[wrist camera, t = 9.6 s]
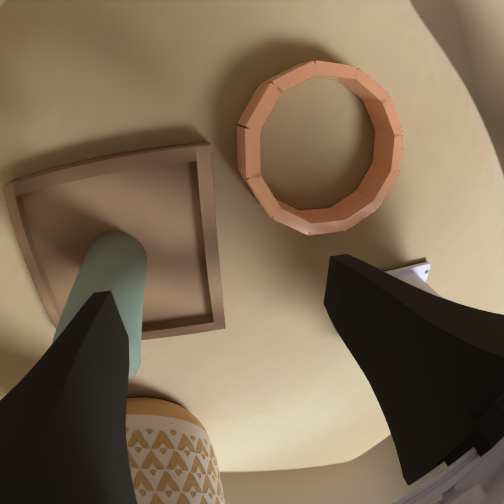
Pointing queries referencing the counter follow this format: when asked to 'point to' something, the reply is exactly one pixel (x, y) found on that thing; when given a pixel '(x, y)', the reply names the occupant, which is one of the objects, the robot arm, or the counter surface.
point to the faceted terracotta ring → (373, 182)
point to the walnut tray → (128, 230)
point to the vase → (170, 455)
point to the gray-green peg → (113, 285)
